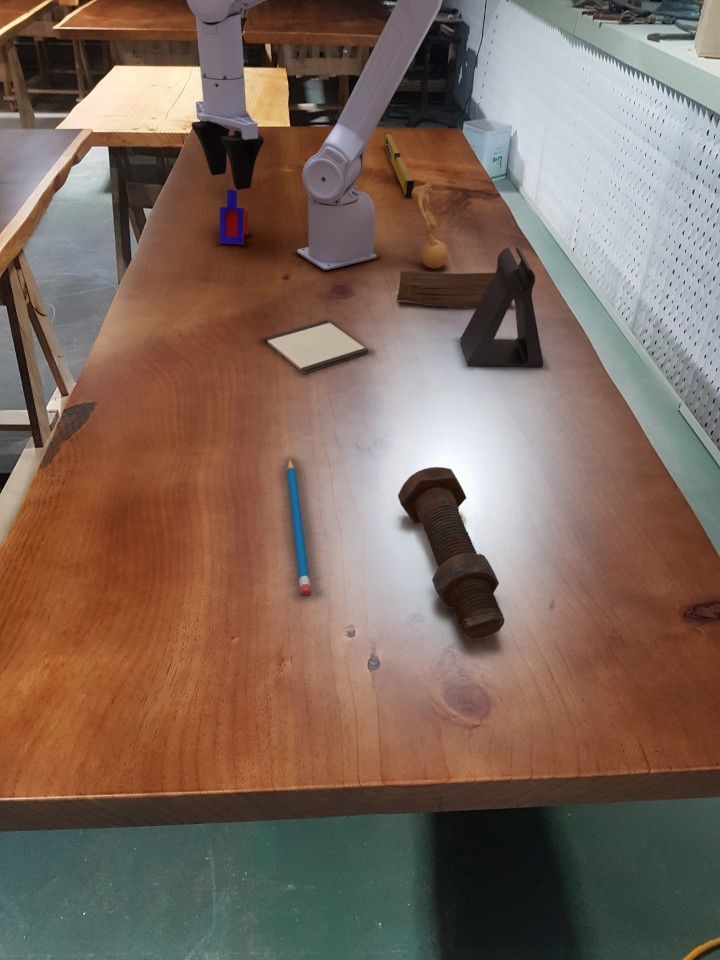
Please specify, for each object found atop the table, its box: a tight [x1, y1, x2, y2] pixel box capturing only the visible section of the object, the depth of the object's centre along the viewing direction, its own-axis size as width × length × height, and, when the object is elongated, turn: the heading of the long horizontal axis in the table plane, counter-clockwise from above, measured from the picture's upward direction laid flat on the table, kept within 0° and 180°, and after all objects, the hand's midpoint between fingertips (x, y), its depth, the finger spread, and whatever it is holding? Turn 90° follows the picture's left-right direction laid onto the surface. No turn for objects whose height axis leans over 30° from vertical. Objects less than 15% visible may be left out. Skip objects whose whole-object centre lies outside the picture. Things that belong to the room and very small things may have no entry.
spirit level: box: [383, 132, 415, 199], centre depth 142 cm, size 33×1×3 cm, turn 5°
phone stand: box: [459, 246, 544, 368], centre depth 82 cm, size 9×6×12 cm, turn 92°
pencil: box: [286, 459, 312, 596], centre depth 62 cm, size 1×17×1 cm, turn 9°
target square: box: [264, 320, 369, 374], centre depth 85 cm, size 9×9×1 cm
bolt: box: [397, 466, 506, 640], centre depth 56 cm, size 6×5×15 cm
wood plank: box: [396, 270, 513, 309], centre depth 94 cm, size 15×2×5 cm, turn 93°
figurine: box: [411, 181, 449, 269], centre depth 102 cm, size 8×6×12 cm
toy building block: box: [219, 189, 249, 246], centre depth 110 cm, size 4×4×8 cm
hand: (230, 181), depth 104 cm, fingers open, 7 cm apart
